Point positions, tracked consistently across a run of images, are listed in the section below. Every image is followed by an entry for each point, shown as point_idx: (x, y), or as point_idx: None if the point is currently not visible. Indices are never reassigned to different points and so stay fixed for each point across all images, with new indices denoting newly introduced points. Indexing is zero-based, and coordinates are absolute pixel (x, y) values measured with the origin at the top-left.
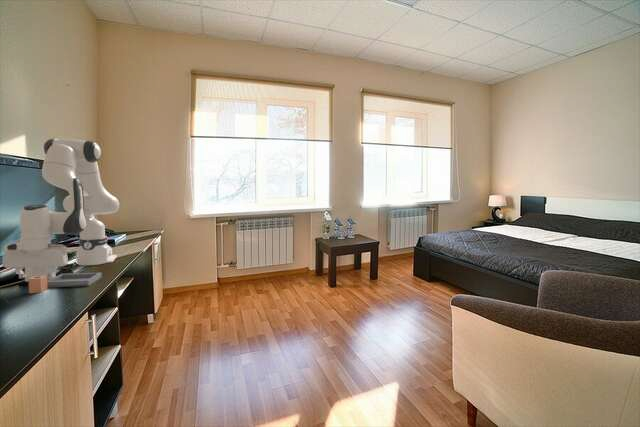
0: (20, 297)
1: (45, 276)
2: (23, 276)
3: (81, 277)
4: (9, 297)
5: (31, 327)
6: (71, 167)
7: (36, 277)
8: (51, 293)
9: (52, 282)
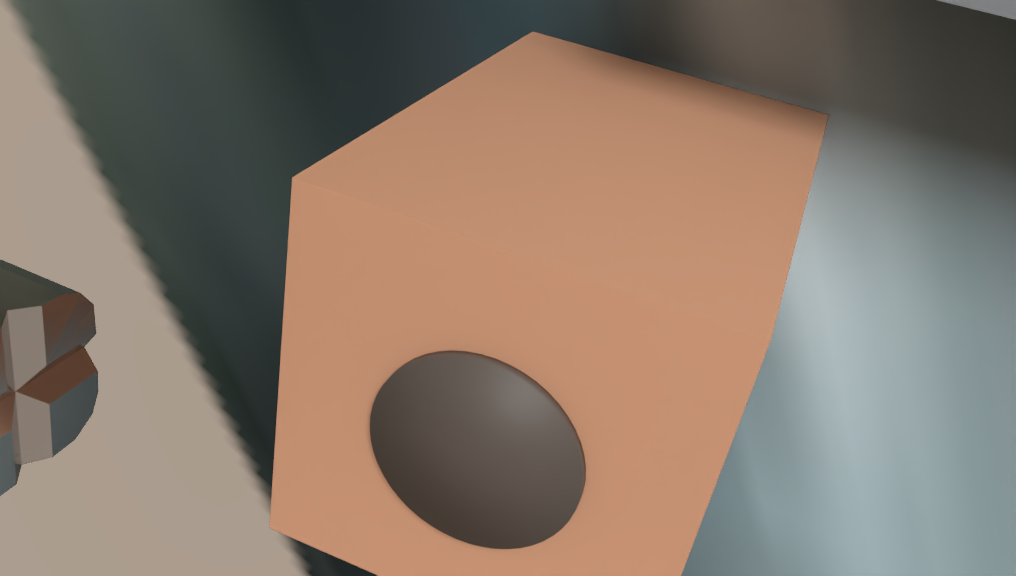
0: None
1: (733, 429)
2: (35, 442)
3: None
4: (260, 401)
5: None
6: None
7: (448, 500)
8: (995, 566)
9: (967, 5)
